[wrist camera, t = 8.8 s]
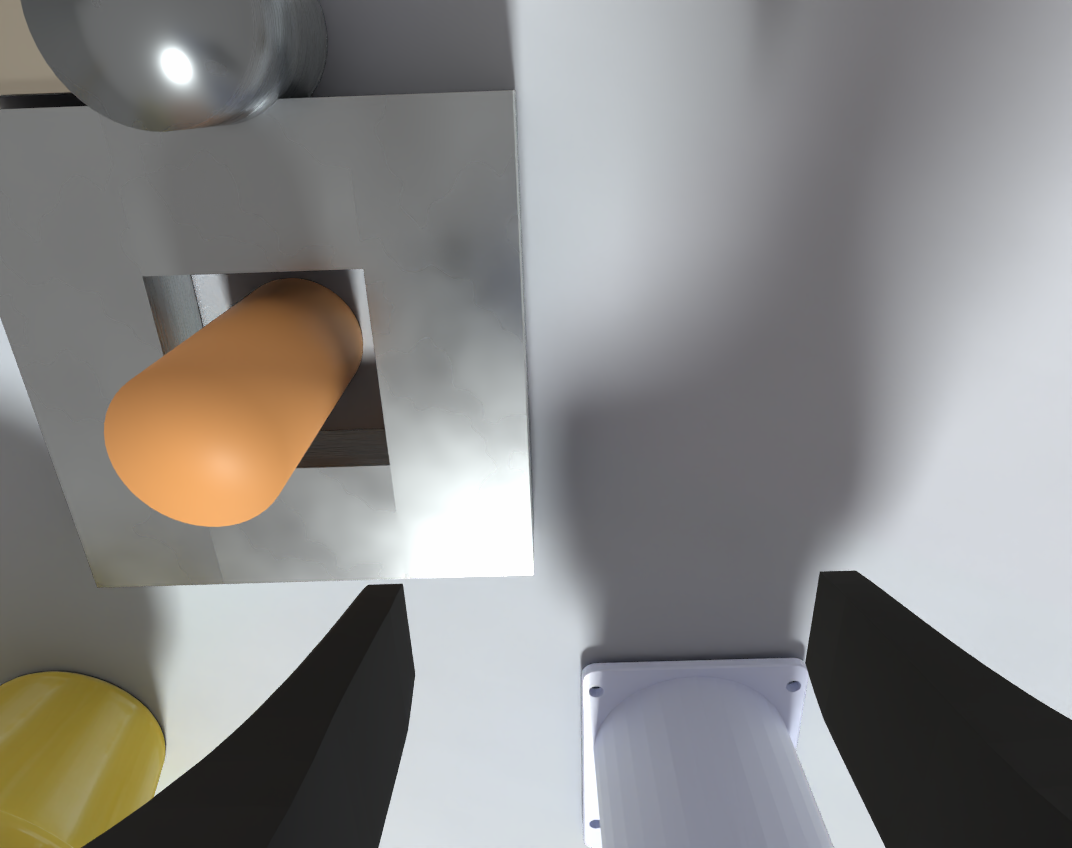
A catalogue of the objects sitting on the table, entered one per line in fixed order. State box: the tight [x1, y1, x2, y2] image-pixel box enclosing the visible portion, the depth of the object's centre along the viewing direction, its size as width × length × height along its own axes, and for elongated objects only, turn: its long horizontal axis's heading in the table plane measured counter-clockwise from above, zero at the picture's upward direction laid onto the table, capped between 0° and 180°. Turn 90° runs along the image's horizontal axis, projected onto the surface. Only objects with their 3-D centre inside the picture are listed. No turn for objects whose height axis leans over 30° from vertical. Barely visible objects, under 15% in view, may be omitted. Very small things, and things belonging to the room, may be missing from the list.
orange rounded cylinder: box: [104, 278, 363, 527], centre depth 17 cm, size 4×4×7 cm
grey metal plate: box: [0, 0, 534, 588], centre depth 18 cm, size 16×20×5 cm
